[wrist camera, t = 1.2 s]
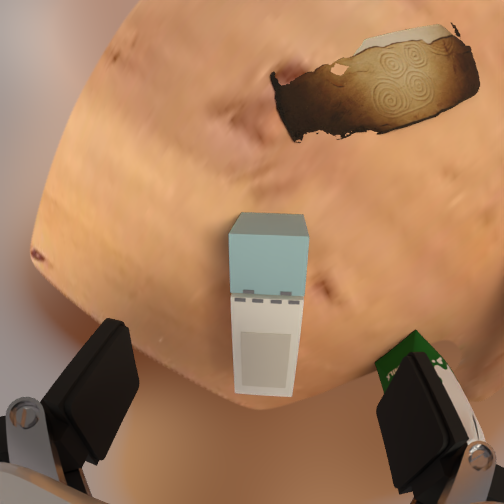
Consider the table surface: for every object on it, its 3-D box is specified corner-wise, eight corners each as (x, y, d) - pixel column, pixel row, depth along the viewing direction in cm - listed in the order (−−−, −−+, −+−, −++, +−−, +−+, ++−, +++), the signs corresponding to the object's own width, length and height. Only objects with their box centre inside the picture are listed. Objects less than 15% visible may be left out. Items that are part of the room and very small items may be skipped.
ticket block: (300, 265, 30) (303, 300, 23) (291, 354, 34) (291, 397, 27) (242, 263, 30) (230, 297, 24) (243, 352, 34) (234, 393, 28)
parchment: (454, 22, 17) (458, 20, 17) (491, 98, 20) (495, 98, 19) (259, 77, 24) (258, 74, 23) (305, 165, 26) (305, 166, 26)
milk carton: (397, 388, 35) (430, 504, 16) (364, 362, 33) (396, 500, 15) (444, 352, 32) (500, 462, 13) (417, 319, 31) (485, 450, 12)
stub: (303, 214, 28) (309, 237, 21) (300, 262, 29) (304, 296, 23) (241, 212, 28) (228, 234, 22) (242, 259, 30) (230, 293, 23)
